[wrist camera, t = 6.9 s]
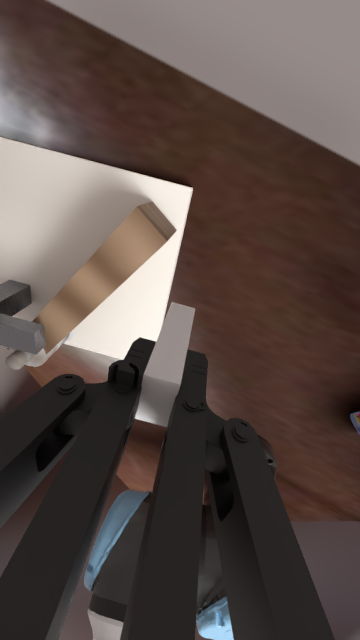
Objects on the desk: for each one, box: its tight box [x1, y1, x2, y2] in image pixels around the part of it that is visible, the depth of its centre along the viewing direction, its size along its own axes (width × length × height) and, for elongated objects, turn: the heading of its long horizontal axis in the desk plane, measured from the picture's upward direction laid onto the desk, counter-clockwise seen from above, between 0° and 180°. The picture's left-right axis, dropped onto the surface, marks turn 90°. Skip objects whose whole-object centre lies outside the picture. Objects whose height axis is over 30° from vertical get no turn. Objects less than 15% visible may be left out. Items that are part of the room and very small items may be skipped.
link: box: [6, 201, 177, 370], centre depth 30 cm, size 27×5×8 cm, turn 132°
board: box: [0, 137, 193, 360], centre depth 34 cm, size 26×25×2 cm
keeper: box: [0, 280, 46, 355], centre depth 32 cm, size 3×10×11 cm, turn 77°
